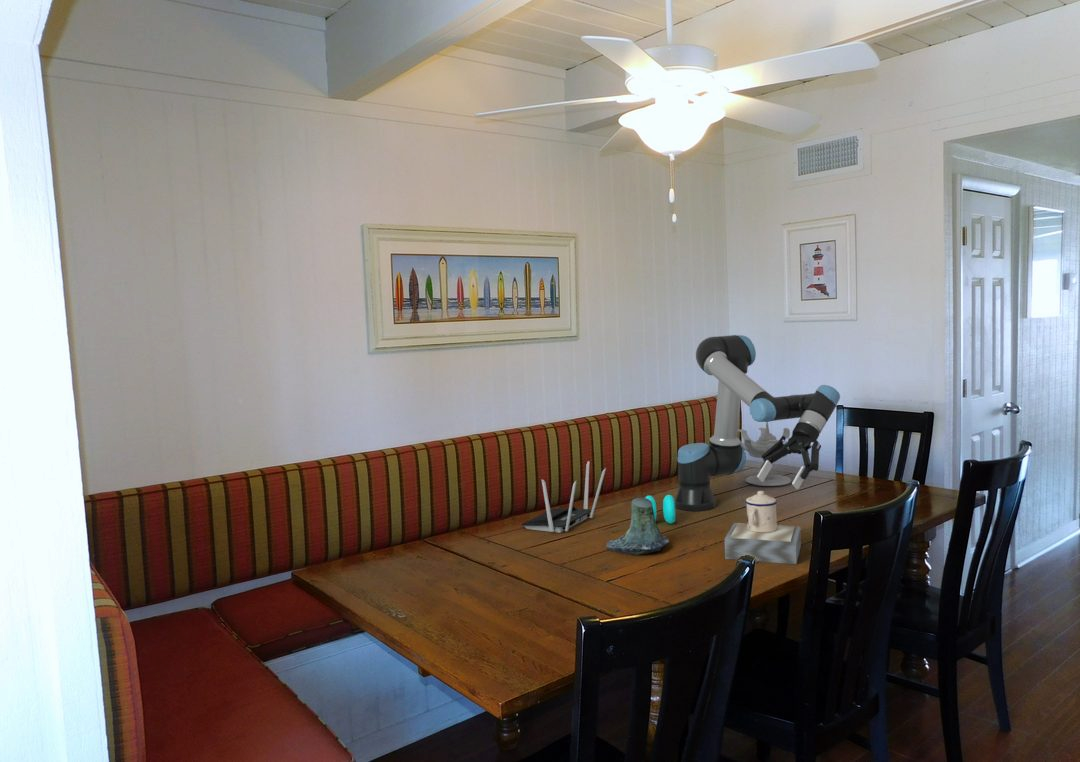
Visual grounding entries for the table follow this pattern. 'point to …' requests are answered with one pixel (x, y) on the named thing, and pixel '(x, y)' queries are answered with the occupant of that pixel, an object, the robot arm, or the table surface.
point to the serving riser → (764, 544)
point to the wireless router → (564, 511)
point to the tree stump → (640, 531)
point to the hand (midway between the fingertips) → (776, 482)
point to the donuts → (665, 508)
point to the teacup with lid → (761, 513)
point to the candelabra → (758, 450)
